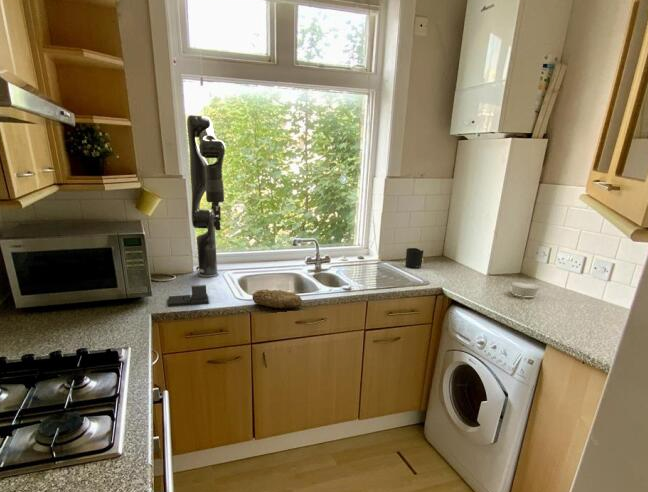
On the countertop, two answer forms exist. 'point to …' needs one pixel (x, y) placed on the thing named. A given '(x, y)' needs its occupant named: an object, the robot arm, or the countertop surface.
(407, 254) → the pen holder
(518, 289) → the ramekin
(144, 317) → the countertop surface
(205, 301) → the joining pad
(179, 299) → the base pad
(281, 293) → the brown rounded lump
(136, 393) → the countertop surface
